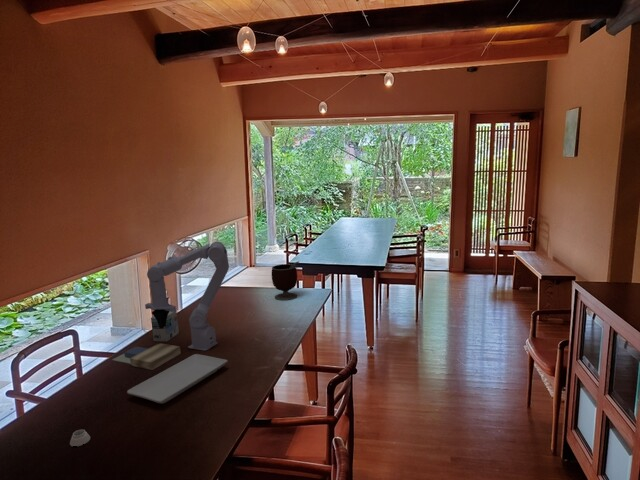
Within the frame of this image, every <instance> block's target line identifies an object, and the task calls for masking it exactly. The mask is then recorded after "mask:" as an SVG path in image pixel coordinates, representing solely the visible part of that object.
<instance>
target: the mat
mask: <svg viewBox="0 0 640 480" xmlns="http://www.w3.org/2000/svg"><path fill="white" fill-rule="evenodd" d="M111 361H113V362H118V363H124V364H128V365H131V362H130V358H127V357H125V354H124V353H123V354H120V355H119V356H116V357H114V358H112V359H111Z"/></svg>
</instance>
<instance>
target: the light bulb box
mask: <svg viewBox="0 0 640 480" xmlns="http://www.w3.org/2000/svg"><path fill="white" fill-rule="evenodd" d="M177 313H178V312H177V310H176V311H174V312H171V311H169V314H168V316H167V320H166V326H165V327H163V328H160V327H159V324H158V322H157V320H156V318H155V317H154V315H152V317H150V322H151V329H152V337H153V342H168V341H170V340H171V339H173V338H174V337H176V336H177V335H179V333H180V331H179V321H178V314H177Z"/></svg>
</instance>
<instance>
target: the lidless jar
mask: <svg viewBox="0 0 640 480" xmlns="http://www.w3.org/2000/svg"><path fill="white" fill-rule="evenodd" d="M90 440H91V436H90V435H89V433H88V432H87V431H86V430H85V429H78V430H75V431H74V432H73V433H72V435H71V438H70V441H69V445H70V447H73V446H77V447H81V446H84V445H85V444H87V443H89V442H90ZM83 444H84V445H83Z"/></svg>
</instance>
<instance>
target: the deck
mask: <svg viewBox="0 0 640 480" xmlns="http://www.w3.org/2000/svg"><path fill="white" fill-rule="evenodd" d="M181 354H182V353H181V346H177V345H173V344H172V345H171V344H166V343H161V342H159V343H157V344H155V345H153V346H151V347H149V348H148V349H147V350H145V351H143V352H141V353H139V354H137V355H136V356H134V357H132V358H130V362H131V364H130V366H131V367H136V368H142V369H145V370H151V371H153V370H155V369H156V368H159V367H161V366H162V365H163V364H165V363H167V362H169V361H171V360H172V359H174V358H176V357H178V356H179V355H181Z"/></svg>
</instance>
